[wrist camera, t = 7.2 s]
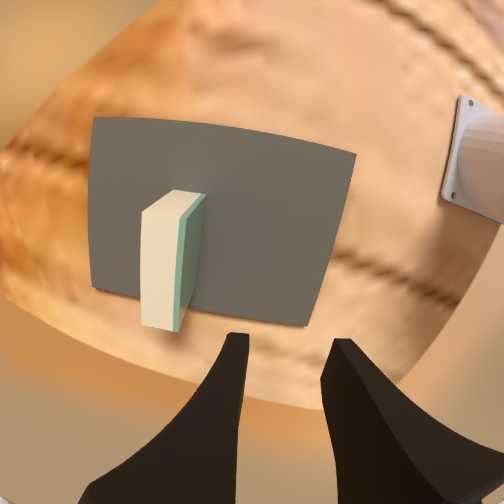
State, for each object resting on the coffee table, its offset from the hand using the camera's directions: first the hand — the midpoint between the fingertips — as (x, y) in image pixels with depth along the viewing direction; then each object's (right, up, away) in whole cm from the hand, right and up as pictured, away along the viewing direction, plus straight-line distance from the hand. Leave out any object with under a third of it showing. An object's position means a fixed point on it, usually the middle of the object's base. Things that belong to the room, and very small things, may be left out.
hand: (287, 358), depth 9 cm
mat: (-4, +5, +8) cm, 10 cm away
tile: (-5, +4, +8) cm, 11 cm away
